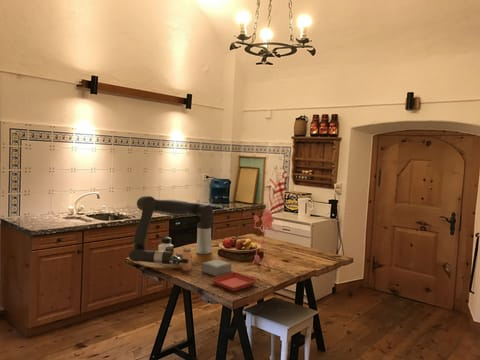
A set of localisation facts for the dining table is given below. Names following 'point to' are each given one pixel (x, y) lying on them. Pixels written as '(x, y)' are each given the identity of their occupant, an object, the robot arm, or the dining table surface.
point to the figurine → (267, 222)
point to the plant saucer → (233, 281)
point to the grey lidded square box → (216, 267)
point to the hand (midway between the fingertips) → (189, 259)
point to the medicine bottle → (166, 245)
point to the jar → (186, 255)
